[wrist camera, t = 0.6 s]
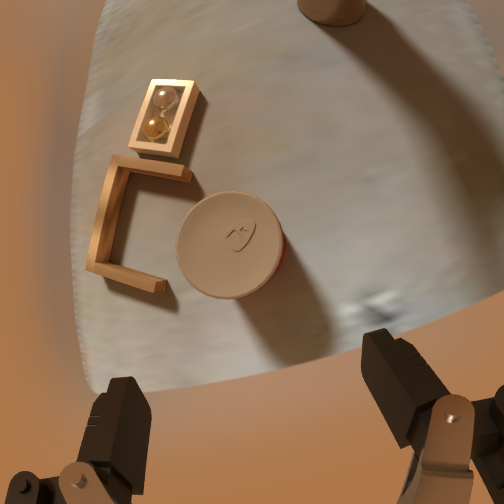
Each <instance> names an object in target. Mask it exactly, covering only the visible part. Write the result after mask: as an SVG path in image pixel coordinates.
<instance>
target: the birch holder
mask: <svg viewBox="0 0 504 504" xmlns="http://www.w3.org/2000/svg"><path fill="white" fill-rule="evenodd" d="M130 172H132V173H138V174H144V175H150V176H156V177H162V178H168V179H173V180H179V181H184V182H189V183H190V181H191V178H192V174H193V172H192V171H191V170H189V169H188V168H187V167H186V166H184V165H180V164H174V163H168V162H161V161H154V160H148V159H141V158H133V157H126V156H118V155H112V158H111V161H110V165H109V168H108V172H107V175H106V179H105V182H104V186H103V190H102V194H101V198H100V202H99V206H98V210H97V214H96V218H95V223H94V228H93V232H92V237H91V242H90V247H89V252H88V258H87V264H86V269H85V270H87V271H90V272H93V273H95V274H98V275H101V276H104V277H107V278H110V279H113V280H115V281H118V282H121V283H124V284H127V285H130V286H133V287H136V288H139V289H142V290H145V291H149V292H152V293H156V292H160V291H164V290H165V287H166V282H167V280H166V279H163V278H159V277H156V276H153V275H149V274H146V273H143V272H139V271H136V270H133V269H130V268H127V267H123V266H120V265H117V264H114V263H111V262H109V259H110V254H111V249H112V244H113V239H114V234H115V230H116V225H117V221H118V217H119V213H120V208H121V204H122V200H123V196H124V193H125V189H126V185H127V181H128V178H129V174H130Z"/></svg>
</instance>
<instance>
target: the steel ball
mask: <svg viewBox="0 0 504 504" xmlns="http://www.w3.org/2000/svg"><path fill="white" fill-rule="evenodd" d="M178 103H179V94H178V92H177V91H176V90H175V89H173V88H170V87H165V88H162V89H160V90H158V91H157V92H156V94H155V96H154V105H155V107H156V108H157V109H158V110H160V111H162V112H169V111H172V110H173V109H175V108H176V107H177V105H178Z"/></svg>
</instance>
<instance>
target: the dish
mask: <svg viewBox="0 0 504 504" xmlns="http://www.w3.org/2000/svg"><path fill="white" fill-rule="evenodd" d="M165 87H170V88H173V89H175V90H176V91H177V92H178V94H179V103H178V105H177V107H176V108H175V109H173V110H172V111H169V112H162V111H160V110H158V109H157V108H156V107H155V105H154V96H155V94H156V92H157V91H158V90H160V89H162V88H165ZM199 92H200V90H199V88H198V86H197V85H196V83H195V81H186V80H164V79H152V81H151V84H150V86H149V89H148V91H147V94H146V96H145V99H144V102H143V104H142V107H141V110H140V113H139V115H138V118H137V121H136V124H135V127H134V130H133V133H132V136H131V139H130V142H129V145H128V147H129V148H131V149H132V150H134V151H135V152H137V153H144V154H151V155H158V156H165V157H172V158H179V154H180V151H181V148H182V144H183V141H184V138H185V135H186V131H187V128H188V125H189V122H190V119H191V116H192V113H193V110H194V107H195V104H196V101H197V98H198V95H199ZM153 116H161V117H163V118H165V119H166V120H167V121H168V123H169V128H170V129H169V133H168V135H167V136H166V137H165V138H164V139H163V140H161V141H158V142H154V141H150V140H148V139H147V138H146V137H145V135H144V132H143V127H144V124H145V122H146V121H147V120H148V119H149V118H151V117H153Z"/></svg>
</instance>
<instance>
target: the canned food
mask: <svg viewBox="0 0 504 504" xmlns="http://www.w3.org/2000/svg"><path fill="white" fill-rule="evenodd" d="M285 248H286V244H285V237H284V234H283V231H282V228H281V225H280V222H279V220H278V219H277V217H276V215H275V213H274V212H273V211H272V210H271V208H270V207H269V206H268V205H267V204H266V203H264V202H263V201H262V200H260V199H259V198H257V197H255V196H253V195H251V194H248V193H244V192H240V191H224V192H218V193H215V194H213V195H210V196H208V197H206V198H204V199H203V200H201V201H199V202H198V203H197V204H196V205H195V206H194V207H193V208H192V209H191V210H190V211H189V212H188V214H187V215H186V216H185V218H184V220H183V222H182V224H181V225H180V228H179V231H178V235H177V240H176V257H177V261H178V264H179V268H180V270H181V272H182V274H183V276H184V277H185V278H186V280H187V281H188V282H189V283H190V284H191V285H192V286H193V287H194V288H195V289H196V290H198V291H199V292H201V293H203V294H205V295H207V296H210V297H213V298H217V299H235V298H240V297H243V296H247V295H249V294H251V293H253V292H255V291H257V290H258V289H260V288H261V287H262V286H263V285H264V284H266V283H267V282H268V281H269V280H270V279H271V277H272V276H273V275H274V274H275V273H276V271H277V270H278V269H279V267H280V265H281V264H282V262H283V259H284V255H285Z"/></svg>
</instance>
